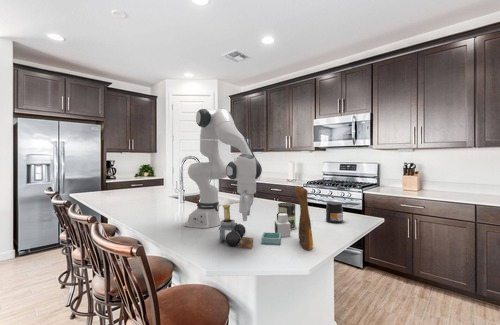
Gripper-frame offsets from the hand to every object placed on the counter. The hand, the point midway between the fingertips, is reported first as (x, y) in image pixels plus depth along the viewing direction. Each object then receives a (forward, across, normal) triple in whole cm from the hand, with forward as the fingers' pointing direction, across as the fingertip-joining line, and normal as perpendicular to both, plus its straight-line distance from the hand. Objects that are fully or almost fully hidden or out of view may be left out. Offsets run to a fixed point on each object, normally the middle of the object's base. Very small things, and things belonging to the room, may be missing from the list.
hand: (246, 218), depth 118 cm
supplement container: (+14, +50, -50) cm, 72 cm away
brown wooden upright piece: (+14, +6, -28) cm, 31 cm away
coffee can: (+14, +33, -19) cm, 41 cm away
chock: (+14, -1, 0) cm, 14 cm away
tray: (+14, +8, -12) cm, 20 cm away
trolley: (+14, +6, +8) cm, 17 cm away
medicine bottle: (+14, +19, -17) cm, 29 cm away
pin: (+6, +7, +11) cm, 14 cm away
